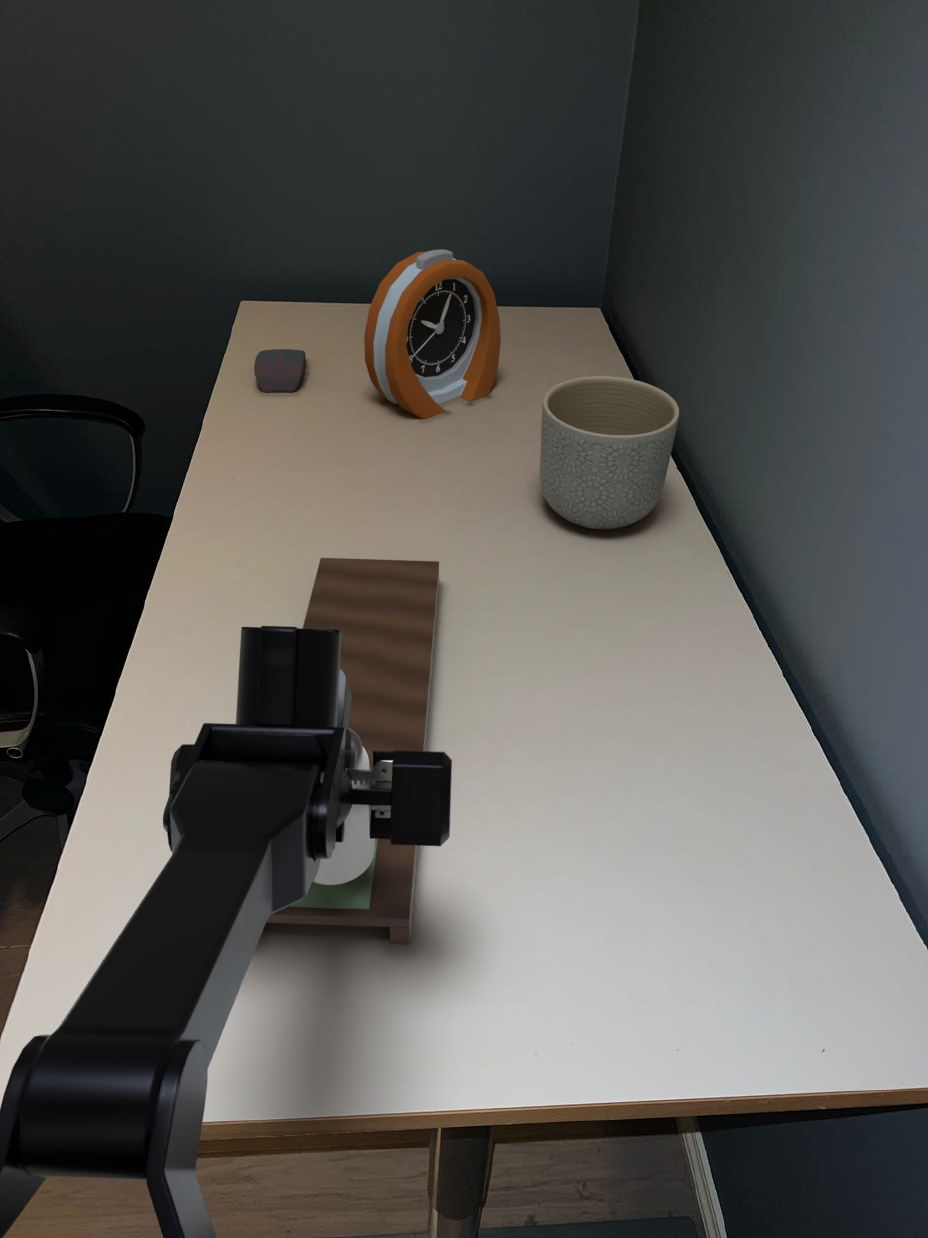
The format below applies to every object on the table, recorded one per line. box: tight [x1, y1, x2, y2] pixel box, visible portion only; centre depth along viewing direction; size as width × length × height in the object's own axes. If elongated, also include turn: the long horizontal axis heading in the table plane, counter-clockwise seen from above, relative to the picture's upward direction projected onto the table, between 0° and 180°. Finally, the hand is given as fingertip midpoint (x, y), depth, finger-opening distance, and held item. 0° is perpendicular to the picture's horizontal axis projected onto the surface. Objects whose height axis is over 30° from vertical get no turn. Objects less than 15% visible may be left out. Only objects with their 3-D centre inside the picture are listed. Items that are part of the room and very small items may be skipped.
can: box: [313, 728, 375, 885], centre depth 70 cm, size 6×6×12 cm
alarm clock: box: [363, 249, 502, 420], centre depth 143 cm, size 22×10×23 cm, turn 132°
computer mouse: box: [253, 348, 306, 393], centre depth 154 cm, size 8×14×4 cm, turn 3°
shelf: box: [266, 557, 440, 945], centre depth 91 cm, size 48×14×4 cm, turn 178°
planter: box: [539, 375, 680, 530], centre depth 120 cm, size 17×17×15 cm
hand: (330, 785), depth 71 cm, fingers closed on can, 6 cm apart
